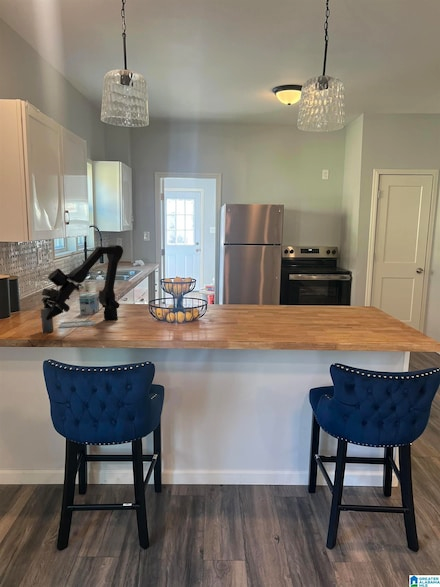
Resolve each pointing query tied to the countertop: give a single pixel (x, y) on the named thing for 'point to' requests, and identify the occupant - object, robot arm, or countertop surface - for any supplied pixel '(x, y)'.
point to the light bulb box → (89, 303)
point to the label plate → (76, 324)
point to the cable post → (46, 321)
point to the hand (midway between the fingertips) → (44, 318)
